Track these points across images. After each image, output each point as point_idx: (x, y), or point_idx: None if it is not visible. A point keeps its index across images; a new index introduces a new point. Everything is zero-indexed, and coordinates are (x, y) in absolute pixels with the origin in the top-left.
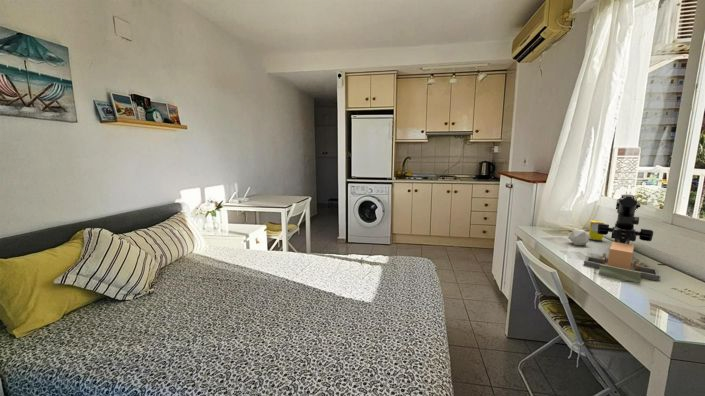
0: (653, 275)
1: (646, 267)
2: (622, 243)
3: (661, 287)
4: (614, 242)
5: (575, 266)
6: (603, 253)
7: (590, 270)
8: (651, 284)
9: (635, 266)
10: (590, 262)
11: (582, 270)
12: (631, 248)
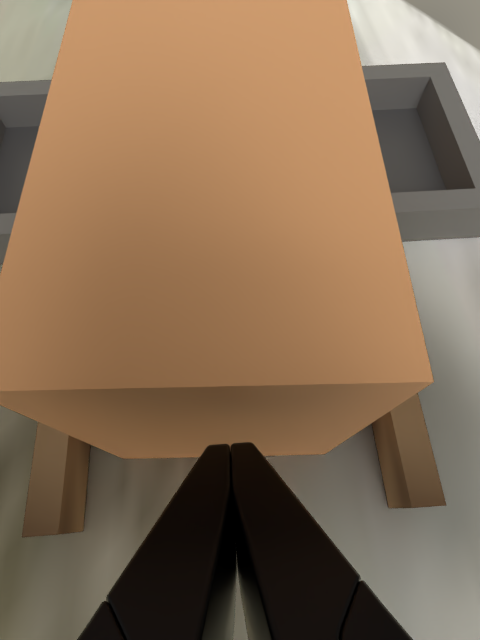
0: (8, 87)
1: (9, 227)
2: (221, 332)
3: (12, 36)
4: (380, 296)
5: (450, 49)
6: (438, 483)
7: (359, 41)
8: (53, 44)
9: None
10: (401, 67)
11: (391, 16)
12: (81, 64)
